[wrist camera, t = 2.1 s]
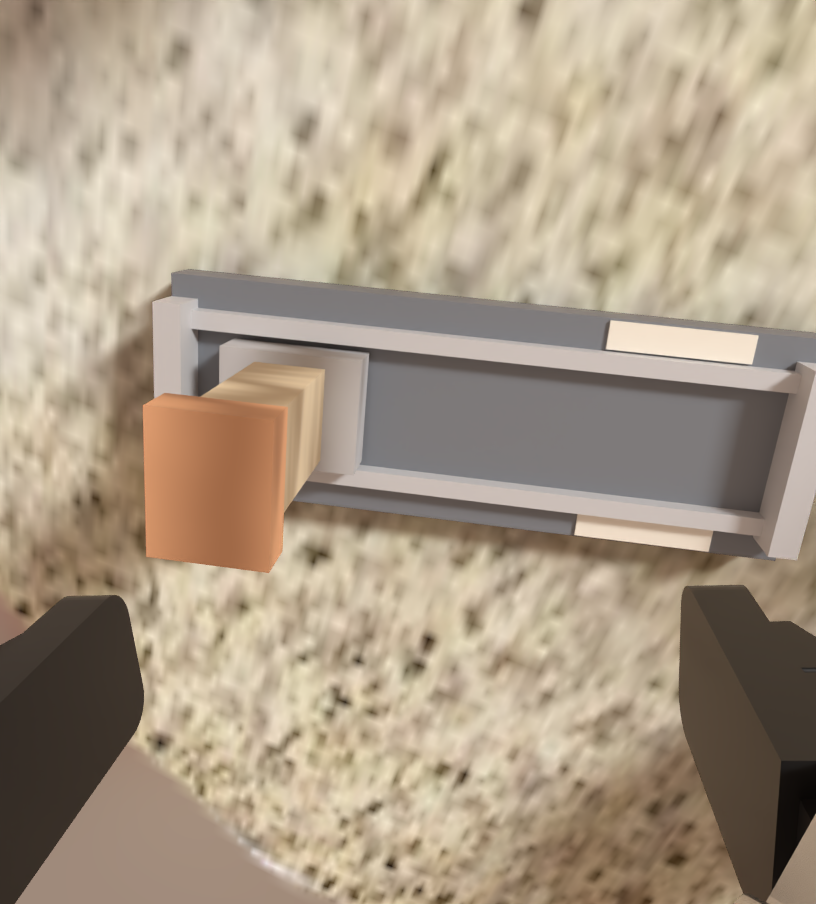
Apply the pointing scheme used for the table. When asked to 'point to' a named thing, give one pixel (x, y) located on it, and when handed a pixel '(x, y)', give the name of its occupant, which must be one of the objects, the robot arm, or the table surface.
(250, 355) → the slider
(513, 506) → the track
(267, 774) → the table surface
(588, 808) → the table surface
